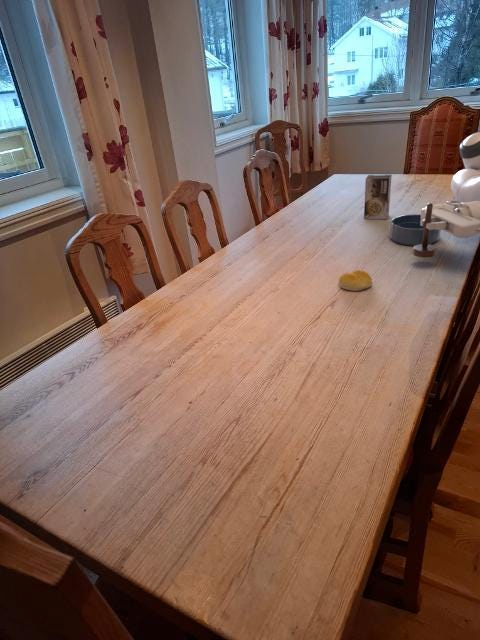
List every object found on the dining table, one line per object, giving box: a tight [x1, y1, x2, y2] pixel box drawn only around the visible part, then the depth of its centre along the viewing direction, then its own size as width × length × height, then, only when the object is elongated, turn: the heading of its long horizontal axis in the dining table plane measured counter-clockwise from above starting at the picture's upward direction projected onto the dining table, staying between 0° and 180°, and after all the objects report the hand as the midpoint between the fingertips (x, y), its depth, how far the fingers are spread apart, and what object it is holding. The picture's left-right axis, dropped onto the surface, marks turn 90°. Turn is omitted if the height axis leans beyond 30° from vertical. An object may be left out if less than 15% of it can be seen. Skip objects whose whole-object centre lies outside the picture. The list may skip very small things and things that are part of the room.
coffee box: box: [363, 173, 393, 220], centre depth 170 cm, size 9×6×16 cm
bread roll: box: [338, 269, 373, 292], centre depth 121 cm, size 8×9×4 cm
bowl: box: [389, 214, 442, 247], centre depth 148 cm, size 16×16×6 cm
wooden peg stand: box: [412, 202, 436, 259], centre depth 125 cm, size 6×6×15 cm
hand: (424, 225), depth 124 cm, fingers closed on wooden peg stand
